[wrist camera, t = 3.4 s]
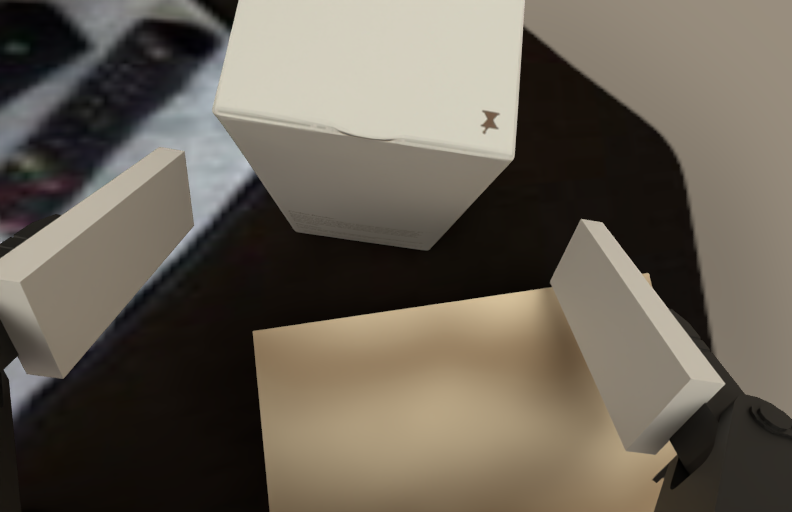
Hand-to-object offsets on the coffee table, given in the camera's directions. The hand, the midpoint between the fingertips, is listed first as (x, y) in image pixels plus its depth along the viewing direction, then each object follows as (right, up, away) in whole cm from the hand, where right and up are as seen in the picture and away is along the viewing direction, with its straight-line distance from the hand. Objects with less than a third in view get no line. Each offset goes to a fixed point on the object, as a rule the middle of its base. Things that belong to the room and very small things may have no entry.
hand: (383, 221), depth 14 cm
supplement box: (-1, +4, +13) cm, 14 cm away
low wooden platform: (+3, -12, +11) cm, 17 cm away
